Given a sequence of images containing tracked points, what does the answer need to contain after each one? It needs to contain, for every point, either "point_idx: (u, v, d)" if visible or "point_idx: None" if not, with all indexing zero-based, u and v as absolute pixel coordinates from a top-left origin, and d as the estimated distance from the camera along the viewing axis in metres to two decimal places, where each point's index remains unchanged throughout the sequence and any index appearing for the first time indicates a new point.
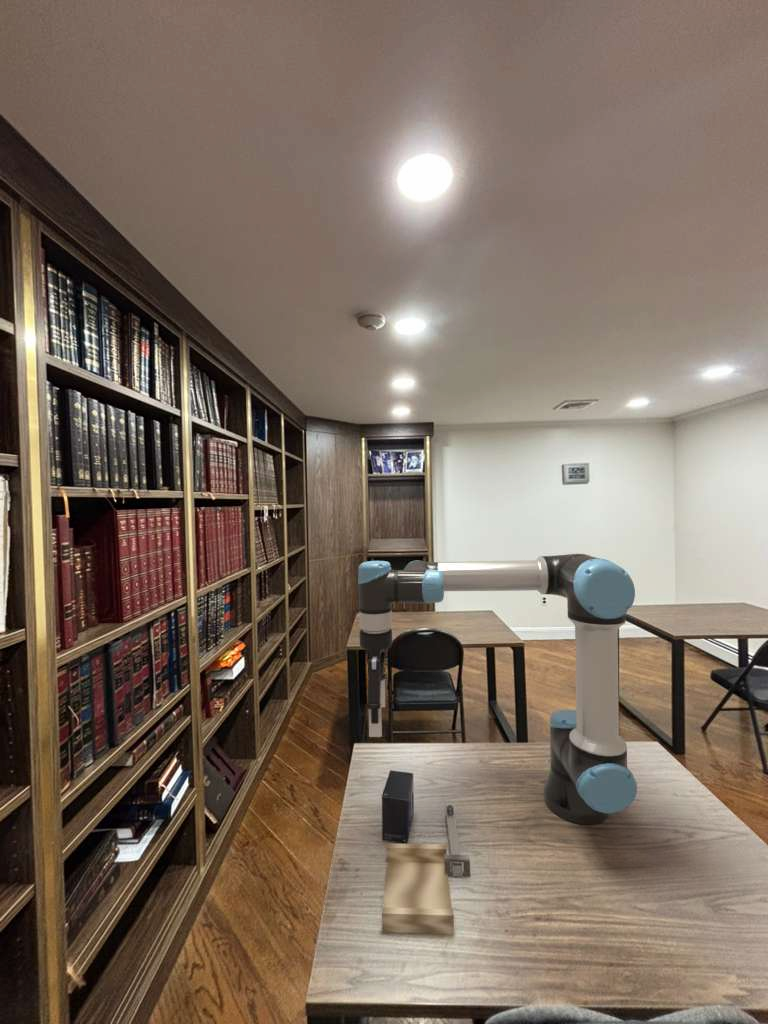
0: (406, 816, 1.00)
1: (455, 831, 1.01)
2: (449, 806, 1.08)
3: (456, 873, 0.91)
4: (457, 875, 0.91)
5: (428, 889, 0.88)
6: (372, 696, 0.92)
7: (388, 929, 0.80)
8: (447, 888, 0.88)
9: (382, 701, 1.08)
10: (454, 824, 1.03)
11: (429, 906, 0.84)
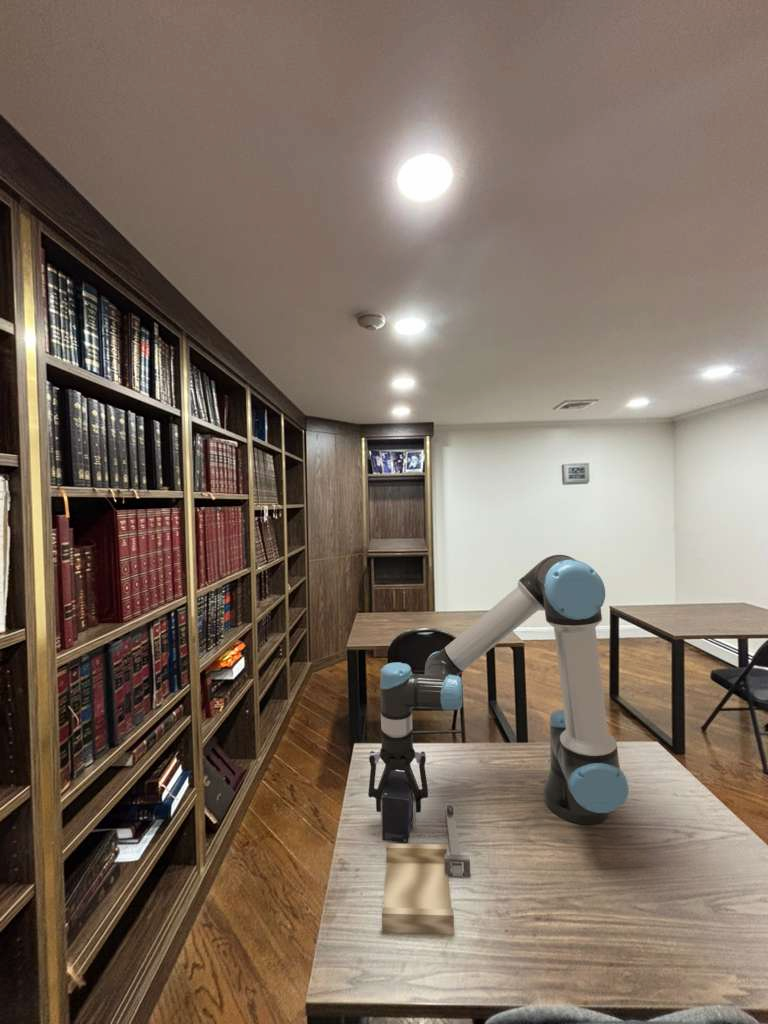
0: (406, 816, 1.00)
1: (455, 831, 1.01)
2: (449, 806, 1.08)
3: (456, 873, 0.91)
4: (457, 875, 0.91)
5: (428, 889, 0.88)
6: None
7: (388, 929, 0.80)
8: (447, 888, 0.88)
9: (413, 820, 1.05)
10: (454, 824, 1.03)
11: (429, 906, 0.84)
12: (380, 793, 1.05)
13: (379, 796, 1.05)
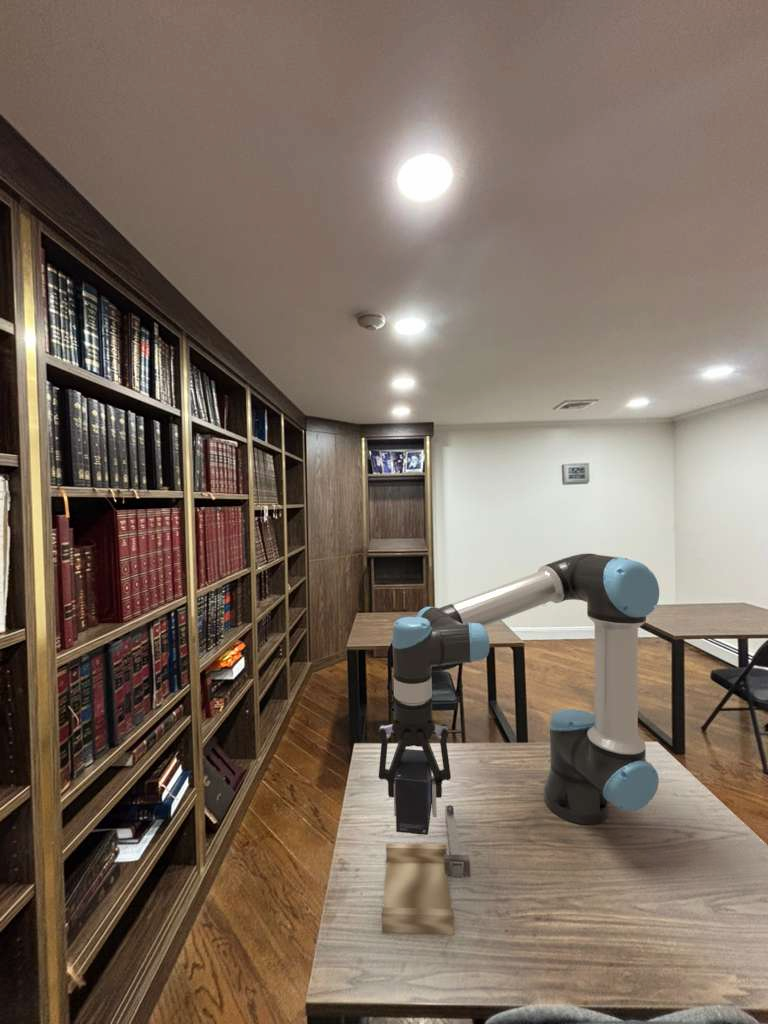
0: (425, 801, 0.82)
1: (455, 831, 1.01)
2: (449, 806, 1.08)
3: (456, 873, 0.91)
4: (457, 875, 0.91)
5: (428, 889, 0.88)
6: None
7: (388, 929, 0.80)
8: (447, 888, 0.88)
9: (432, 807, 0.86)
10: (454, 824, 1.03)
11: (429, 906, 0.84)
12: (393, 774, 0.86)
13: (392, 778, 0.86)
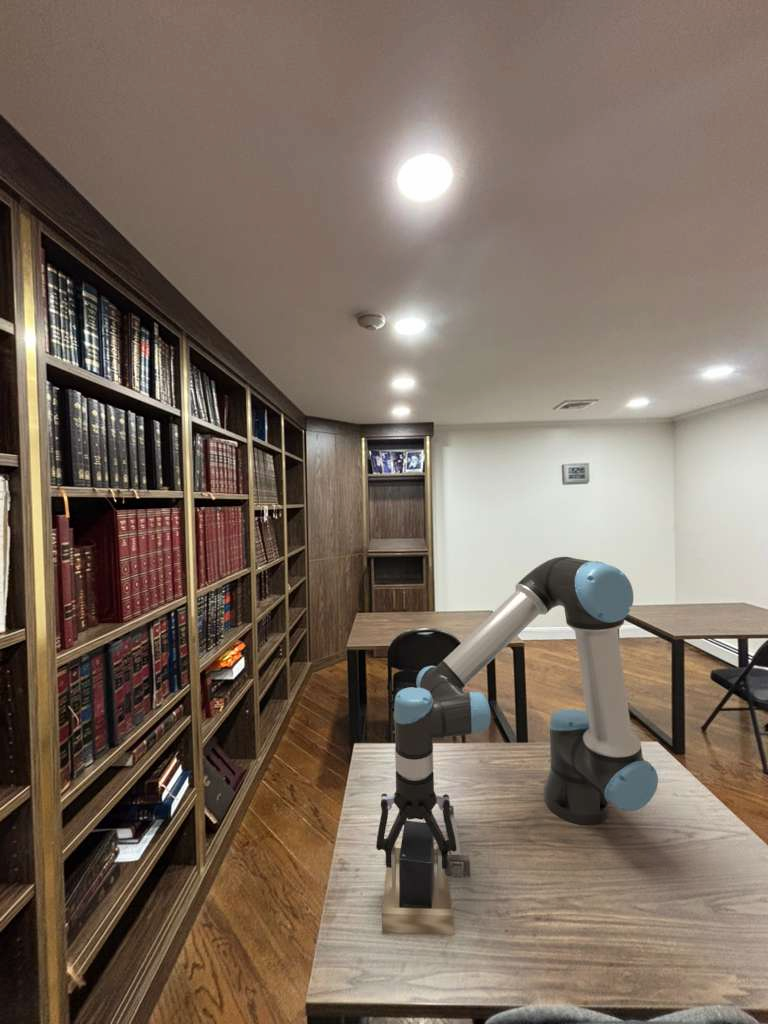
0: (429, 882, 0.82)
1: (455, 831, 1.01)
2: None
3: (456, 873, 0.91)
4: (457, 875, 0.91)
5: None
6: (378, 832, 0.88)
7: (388, 929, 0.80)
8: (447, 888, 0.88)
9: (438, 877, 0.87)
10: (454, 824, 1.03)
11: None
12: (391, 845, 0.86)
13: (389, 849, 0.87)
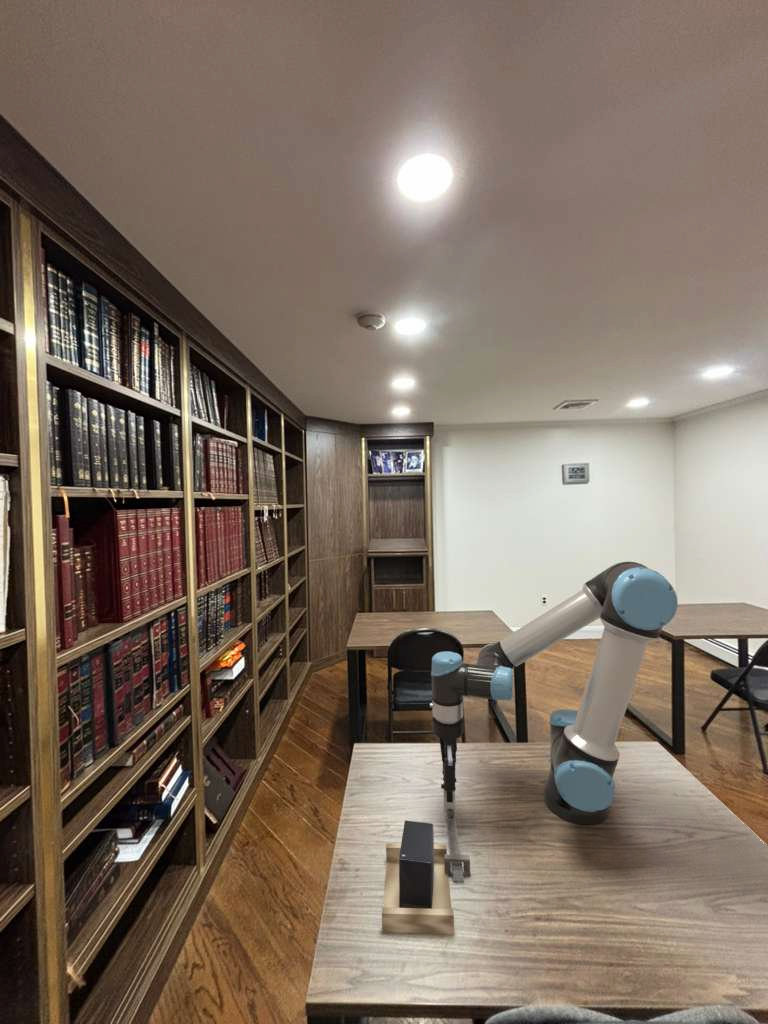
0: (429, 882, 0.82)
1: (456, 835, 0.99)
2: (450, 809, 1.06)
3: (456, 878, 0.90)
4: (458, 880, 0.90)
5: None
6: (449, 784, 1.04)
7: (388, 929, 0.80)
8: (447, 888, 0.88)
9: None
10: (455, 827, 1.02)
11: None
12: None
13: None
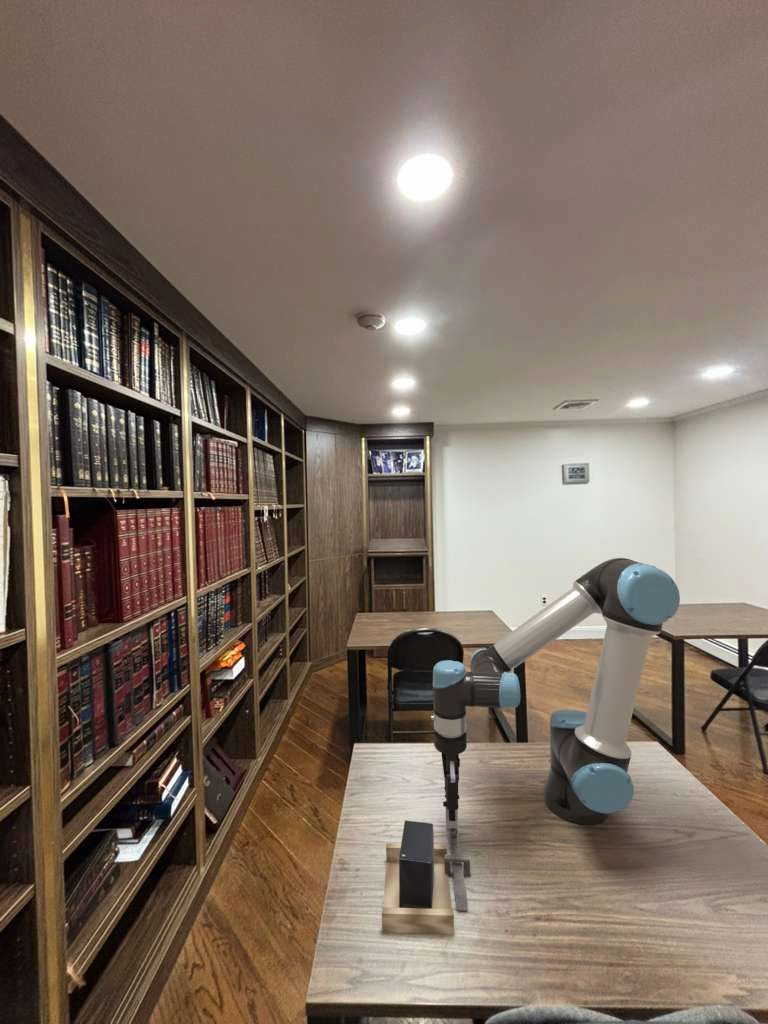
0: (429, 882, 0.82)
1: None
2: (452, 829, 1.00)
3: (460, 907, 0.84)
4: (461, 909, 0.84)
5: None
6: (451, 802, 0.98)
7: (388, 929, 0.80)
8: (447, 888, 0.88)
9: None
10: (458, 849, 0.95)
11: None
12: None
13: None
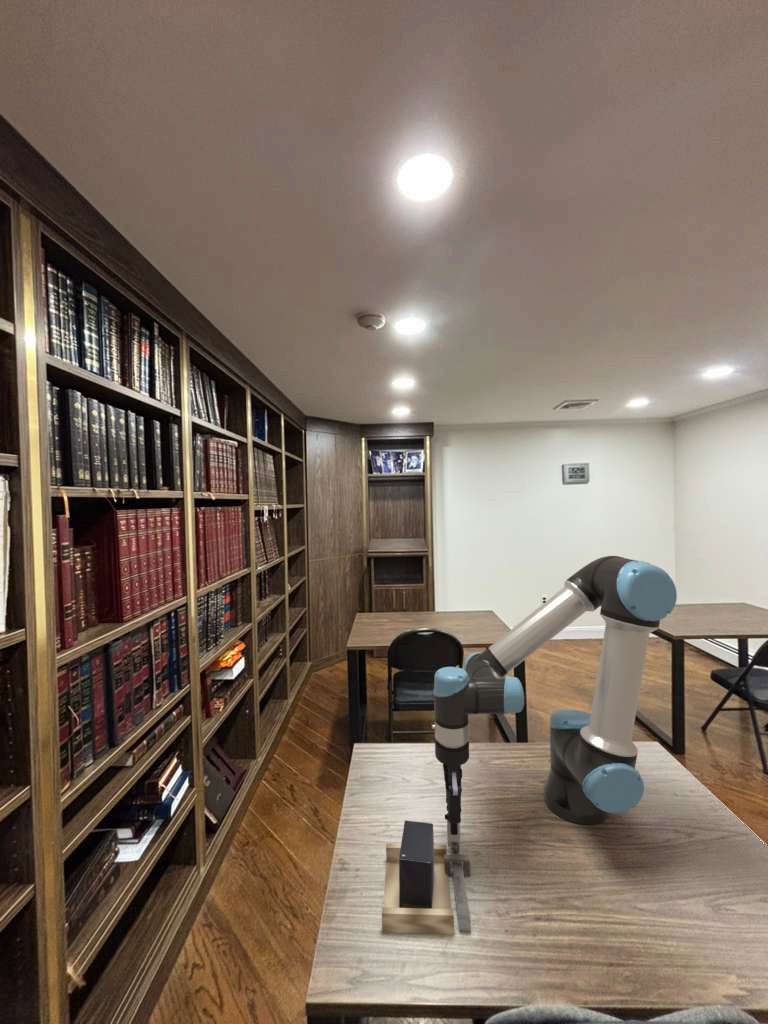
0: (429, 882, 0.82)
1: (461, 874, 0.89)
2: (454, 843, 0.96)
3: (463, 928, 0.80)
4: (464, 930, 0.80)
5: None
6: (453, 815, 0.94)
7: (388, 929, 0.80)
8: (447, 888, 0.88)
9: None
10: (460, 865, 0.91)
11: None
12: None
13: None
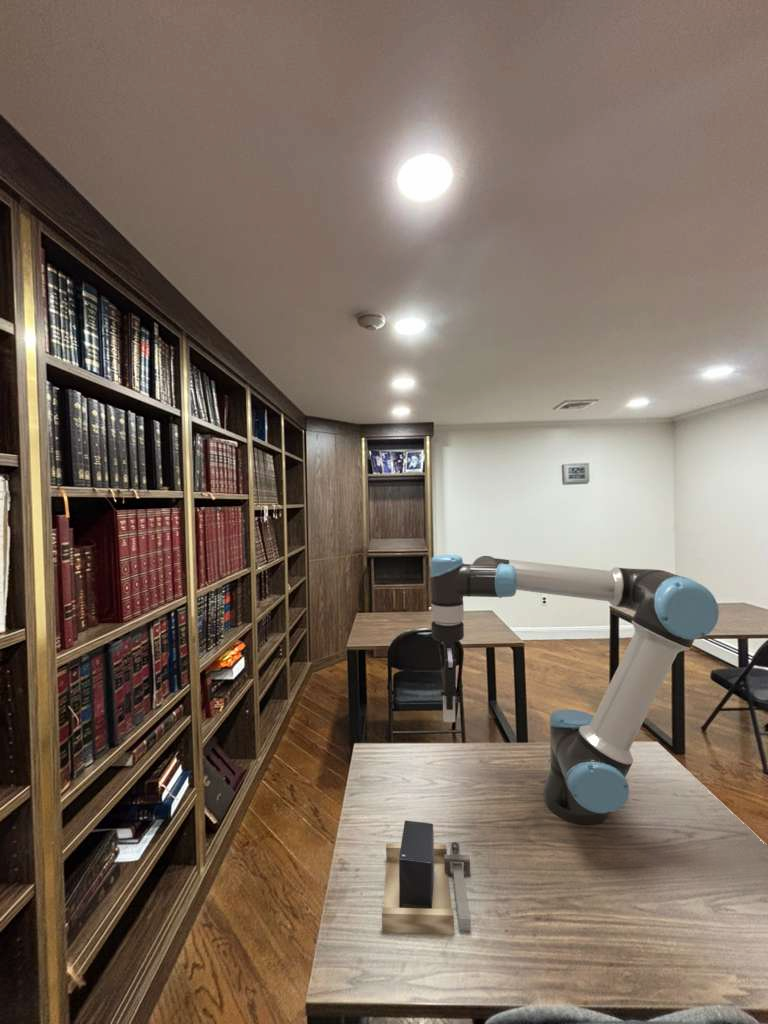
0: (429, 882, 0.82)
1: (462, 874, 0.89)
2: (454, 843, 0.96)
3: (463, 928, 0.80)
4: (464, 930, 0.80)
5: None
6: (449, 688, 0.99)
7: (388, 929, 0.80)
8: (447, 888, 0.88)
9: None
10: (460, 865, 0.91)
11: None
12: None
13: None
